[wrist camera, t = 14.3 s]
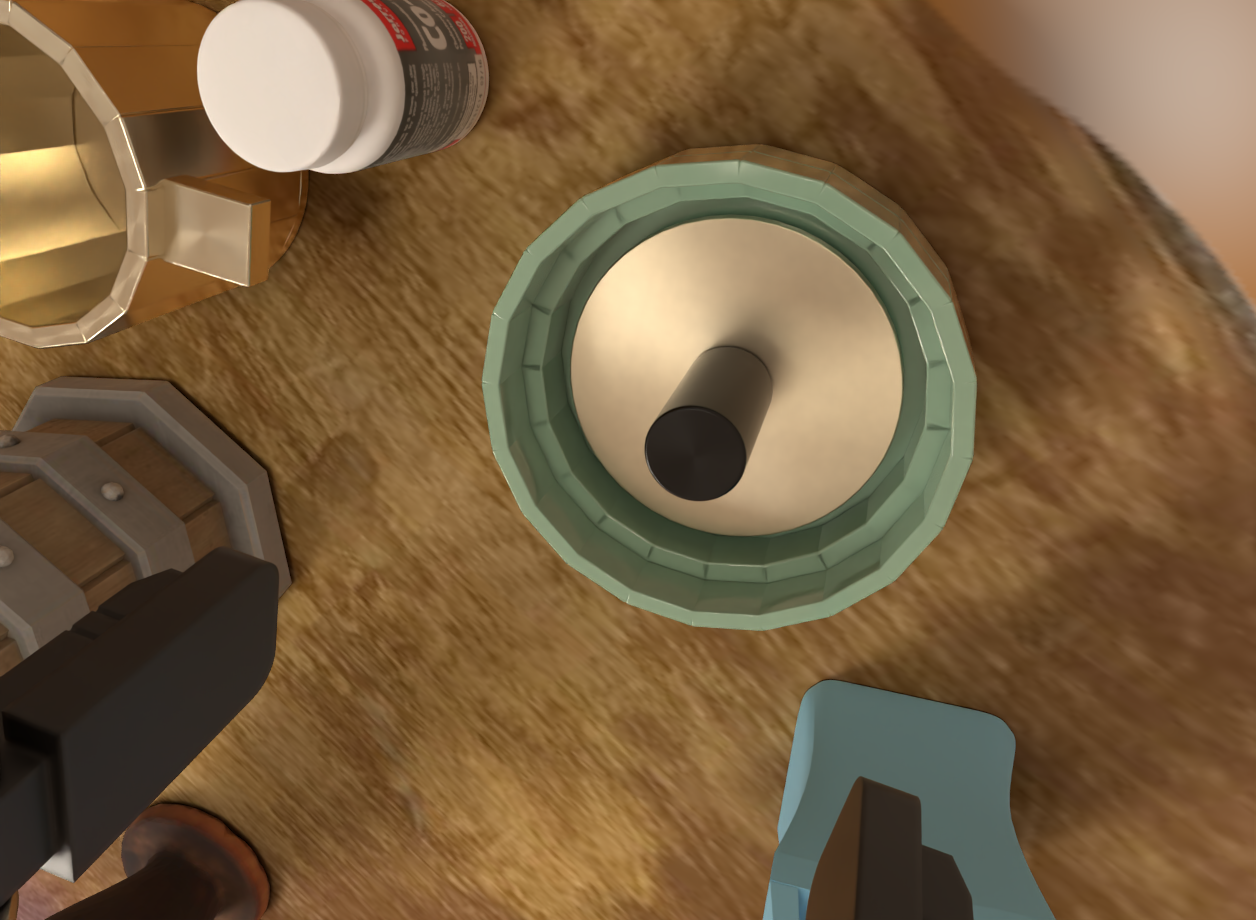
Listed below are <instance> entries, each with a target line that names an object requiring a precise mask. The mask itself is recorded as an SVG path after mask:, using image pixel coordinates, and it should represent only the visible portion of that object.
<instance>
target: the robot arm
mask: <svg viewBox="0 0 1256 920" xmlns="http://www.w3.org/2000/svg"><path fill="white" fill-rule="evenodd" d="M278 595H279V571H278V568H277V566H276V565H275V564H273V563H271V562H268V561H265V560H262V559H259V558H257V557H254V556H251V555H248V554H245V553H243V552H240V551H237V550H234V549H232V548H229V547H225V546H221V547H217V548H215V549H214V550H212V551H210V552H209V553H208V554H207V555H205V556H204V557H203V558H201V559H200V560H199V561H197V562H196V563H195V564H193V565H192V566H191V567H189V568H188V569H187V570H185V571H184V572H181V571H178V570H175V569H172V568H170V569H168V570H165V571H162V572H160V573H157V574H154V575H151V576H149V577H146V578H143V579H140V580H138V581H135V582H132V583H130V584H128V585H127V586H126V587H124V588H123V589H122V590H120V591H119V592H117V593H116V594H115V595H113V596H112V597H110V598H109V599H108V600H106V601H105V602H104V603H102V604H101V605H99V607H98V610H97V611H96V612H95V611H91V612H90V613H88V614H87V615H85V616H84V617H83V618H81V619H80V620H79V621H77V622H76V623H74V624H73V625H72V628H71V630H70V631H68V630H65V631H63V632H62V633H61V634H59V635H58V636H56V637H55V638H54V639H52V640H51V641H49V642H48V643H47V644H45V645H44V646H43V647H41V648H40V649H38V650H37V651H36V652H34V653H33V654H31V655H30V656H29V657H27V658H26V659H25V660H23V661H22V662H20V663H19V664H18V665H16V666H15V667H13V668H12V669H11V670H9V671H8V672H7V673H5V674H4V675H2V676H1V677H0V920H16V918H17V911H18V904H19V895H18V889H20V888H21V887H22V886H23V885H24V884H25V883H26V882H27V881H28V880H29V879H30V878H31V877H32V876H33V875H34V874H35V873H36V872H37V871H38V870H39V869H42V870H44V871H47V872H49V873H51V874H54V875H56V876H58V877H61V878H63V879H65V880H68V881H70V882H73V883H74V882H75V881H76V880H77V879H78V878H79V877H80V876H81V875H82V874H83V873H84V872H85V871H86V870H87V869H88V868H89V867H90V866H91V865H92V864H93V863H94V862H95V861H96V860H97V858H98V857H99V856H100V855H101V854H102V853H103V852H104V851H105V850H106V849H107V848H108V847H109V846H110V845H111V844H112V843H113V842H114V841H115V840H116V839H117V838H118V837H119V836H120V835H121V834H122V833H123V832H124V831H125V830H126V829H127V828H128V827H129V825H130V824H131V823H132V822H133V821H134V820H135V819H136V818H137V817H138V816H139V815H140V814H141V813H142V812H143V811H144V810H145V809H146V808H147V807H148V806H149V805H150V804H151V803H152V802H153V801H154V800H155V799H156V798H157V797H158V796H159V795H160V794H161V792H162V791H163V790H164V789H165V788H166V787H167V786H168V785H169V784H170V783H171V782H172V781H173V780H174V779H175V778H176V777H177V776H178V775H179V774H180V773H181V772H182V771H183V770H184V769H185V768H186V767H187V766H188V765H189V764H190V763H191V762H192V761H193V759H194V758H195V757H196V756H197V755H198V754H199V753H200V752H201V751H202V750H203V749H204V748H205V747H206V746H207V745H208V744H209V743H210V742H211V741H212V740H213V739H214V738H215V737H216V736H217V735H218V734H219V733H220V732H221V731H222V730H223V729H224V728H225V727H226V725H227V724H228V723H229V722H230V721H231V720H232V719H233V718H234V717H235V716H236V715H237V714H238V713H239V712H240V711H241V710H242V709H243V708H244V707H245V706H246V705H247V704H248V703H249V702H250V701H251V700H252V699H253V698H254V696H255V695H256V694H257V693H258V692H259V690H260V689H261V687H262V686H263V684H264V682H265V681H266V679H267V677H268V675H269V672H270V670H271V667H272V665H273V661H274V657H275V651H276V633H277V614H278ZM805 920H974V918H973V904H972V896H971V894H970V892H969V890H968V888H967V886H966V884H965V881H964V879H963V877H962V875H961V873H960V871H959V869H958V867H957V865H956V862H955V860H954V858H953V856H952V855H949V854H947V853H944V852H941V851H938V850H936V849H933V848H930V847H927V846H925V845H922V825H921V802H920V799H919V797H918V796H915V795H912V794H909V793H907V792H904V791H901V790H898V789H896V788H893V787H890V786H887V785H884V784H882V783H879V782H876V781H873V780H870V779H868V778H865V777H862V776H859V777H858V778H857V779H856V781H855V782H854V784H853V786H852V788H851V791H850V793H849V795H848V797H847V799H846V802H845V804H844V806H843V808H842V811H841V813H840V815H839V817H838V819H837V822H836V824H835V826H834V828H833V830H832V833H831V835H830V837H829V839H828V842H827V844H826V846H825V848H824V850H823V853H822V855H821V857H820V860H819V862H818V865H817V868H816V871H815V874H814V878H813V881H812V885H811V889H810V894H809V898H808V904H807V911H806V919H805Z"/></svg>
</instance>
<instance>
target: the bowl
mask: <svg viewBox="0 0 1256 920" xmlns="http://www.w3.org/2000/svg"><path fill="white" fill-rule="evenodd" d="M717 215H745V216H756V217H761V218H766V219H771V220H776V221H780V222H782V223H785V224H788V225H791V226H794V227H797V228H800V229H802V230H804V231H806V232H808V233H810V234H812V235H814V236H816V237H817V238H819V239H821V240H823V241H824V242H826V243H827V244H829V245H830V246H832V247H833V248H834V249H836V250H837V251H839V252H840V253H841V254H843V255H844V256H845V257H846V258H847V259H848V260H849V261H850V262H851V263H852V264H854V265H855V266H856V267H857V268H858V269H859V270H860V272H861V273H862V274H863V275H864V276H865V277H866V279H867V280H868V281H869V282H870V283H871V285H872V286H873V287H874V289H875V290H876V292H877V294H878V295H879V297H880V298H881V300H882V302H883V303H884V305H885V307H886V309H887V311H888V313H889V315H890V318H891V320H892V322H893V324H894V327H895V330H896V334H897V337H898V340H899V344H900V347H901V354H902V361H903V368H904V396H903V403H902V410H901V416H900V420H899V423H898V427H897V430H896V433H895V437H894V439H893V441H892V443H891V446H890V448H889V450H888V452H887V454H886V456H885V458H884V460H883V461H882V463H881V464H880V466H879V467H878V469H877V470H876V472H875V473H874V475H873V476H872V477H871V478H870V479H869V481H868V482H867V483H866V484H865V485H864V486H863V487H862V489H861V490H860V491H859V492H857V493H856V494H855V495H854V496H853V497H852V498H851V499H849V500H848V501H847V502H846V503H845V504H843V505H842V506H840V507H839V508H837V509H836V510H834V511H833V512H831V513H830V514H828V515H826V516H824V517H822V518H820V519H818V520H816V521H814V522H812V523H810V524H808V525H805V526H802V527H799V528H796V529H793V530H790V531H786V532H781V533H776V534H771V535H762V536H751V537H746V536H726V535H719V534H712V533H707V532H703V531H700V530H696V529H692V528H689V527H686V526H684V525H681V524H678V523H676V522H673V521H671V520H669V519H667V518H665V517H663V516H661V515H659V514H658V513H656V512H654V511H652V510H651V509H649V508H648V507H646V506H645V505H643V504H642V503H640V502H639V501H637V500H636V499H635V498H634V497H632V496H631V495H630V494H629V493H628V492H627V491H626V490H624V489H623V488H622V487H621V486H620V485H619V484H618V483H617V482H616V481H615V480H614V478H613V477H612V476H611V475H610V474H609V473H608V472H607V471H606V469H605V468H604V466H603V465H602V464H601V462H600V461H599V460H598V458H597V457H596V455H595V454H594V452H593V450H592V448H591V446H590V445H589V443H588V441H587V439H586V437H585V435H584V432H583V430H582V427H581V425H580V422H579V420H578V417H577V413H576V409H575V405H574V402H573V396H572V389H571V382H570V357H571V349H572V342H573V337H574V333H575V330H576V326H577V322H578V319H579V317H580V314H581V312H582V310H583V307H584V305H585V302H586V300H587V299H588V297H589V295H590V294H591V292H592V290H593V289H594V287H595V285H596V284H597V282H598V281H599V280H600V279H601V278H602V276H603V275H604V274H605V273H606V271H607V270H608V269H609V268H610V267H611V266H612V265H613V264H614V263H615V262H616V261H617V260H618V259H619V258H620V257H621V256H622V255H623V254H624V253H626V252H627V251H628V250H630V249H631V248H632V247H634V246H635V245H637V244H638V243H640V242H641V241H642V240H644V239H645V238H647V237H649V236H651V235H653V234H655V233H657V232H659V231H660V230H662V229H664V228H667V227H670V226H672V225H675V224H678V223H681V222H684V221H687V220H692V219H697V218H702V217H706V216H717ZM482 390H483V396H484V402H485V408H486V414H487V421H488V427H489V433H490V439H491V446H492V450H493V454H494V456H495V458H496V460H497V462H498V464H499V466H500V468H501V470H502V472H503V475H504V477H505V479H506V481H507V483H508V485H509V487H510V489H511V491H512V493H513V495H514V497H515V499H516V502H517V504H518V506H519V508H520V510H521V512H523V515H524V516H525V517H526V518H527V519H528V520H529V521H530V523H531V524H532V525H533V526H534V527H535V528H536V529H537V531H538V532H539V533H540V534H541V535H542V536H543V537H544V539H545V540H546V541H547V542H548V543H549V544H550V545H551V546H552V548H553V549H554V550H555V551H556V552H557V553H558V554H559V556H560V557H561V558H562V559H563V560H564V561H565V562H566V564H569V566H571V567H572V568H574V569H575V570H577V571H578V572H580V573H581V574H583V575H584V576H586V577H587V578H589V579H590V580H592V581H593V582H595V583H596V584H598V585H599V586H601V587H602V588H604V589H605V590H607V591H608V592H610V593H611V594H613V595H614V596H616V597H617V598H619V599H620V600H622V601H623V602H626V603H627V604H629V605H632V606H635V607H638V608H641V609H644V610H647V611H650V612H653V613H655V614H658V615H661V616H664V617H667V618H670V619H673V620H676V621H679V622H682V623H685V624H687V625H692V626H697V627H711V628H726V629H740V630H755V631H764V630H769V629H774V628H779V627H783V626H788V625H793V624H798V623H803V622H807V621H812V620H817V619H822V618H826V617H830V616H831V615H832V616H833V615H835V614H836V613H838V612H840V611H842V610H844V609H845V608H847V607H849V606H851V605H853V604H855V603H856V602H858V601H860V600H862V599H864V598H865V597H867V596H869V595H871V594H873V593H875V592H876V591H878V590H880V589H882V588H884V587H885V586H887V585H889V584H891V583H893V581H895V580H896V579H897V578H898V577H899V576H900V575H901V574H902V573H903V572H904V571H905V570H906V569H907V567H908V566H909V565H910V564H911V563H912V562H913V561H914V560H915V559H916V558H917V557H918V556H919V554H920V553H921V552H922V551H923V550H924V549H925V548H926V547H927V546H928V545H929V544H930V543H931V542H932V540H933V539H934V538H935V537H936V536H937V535H938V534H939V533H940V532H941V531H942V530H943V527H944V526H945V524H946V522H947V519H948V517H949V515H950V512H951V510H952V508H953V505H954V503H955V501H956V498H957V496H958V494H959V491H960V489H961V487H962V484H963V482H964V480H965V477H966V475H967V473H968V470H969V468H970V466H971V463H972V461H973V460H972V458H973V456H974V439H975V419H976V399H977V376H976V370H975V365H974V360H973V354H972V349H971V344H970V338H969V334H968V331H967V328H966V325H965V321H964V318H963V315H962V312H961V309H960V305H959V302H958V299H957V296H956V293H955V289H954V286H953V283H952V280H951V277H950V273H949V270H948V269H947V267H946V265H945V264H944V262H943V261H942V260H941V258H940V257H939V256H938V254H937V253H936V252H935V250H934V249H933V248H932V246H931V245H930V244H929V242H928V241H927V240H926V239H925V237H924V236H923V235H922V233H921V232H920V231H919V229H918V228H917V227H916V225H915V224H914V223H913V221H912V220H911V219H910V217H909V216H908V215H907V213H906V212H905V211H904V209H902V208H900V206H899V205H898V204H896V203H895V202H893V201H892V200H890V199H889V198H887V197H886V196H884V195H883V194H881V193H880V192H878V191H877V190H875V189H874V188H872V187H871V186H870V185H868V184H867V183H865V182H864V181H862V180H861V179H859V178H858V177H856V176H855V175H853V174H852V173H850V172H849V171H847V170H846V169H844V168H843V167H841V166H840V165H836V164H835V163H833V162H829V161H825V160H822V159H818V158H814V157H810V156H806V155H803V154H799V153H795V152H791V151H787V150H784V149H780V148H776V147H772V146H768V145H765V144H763V145H761V144H749V145H736V146H722V147H708V148H695V149H687V150H683V151H680V152H678V153H676V154H673V155H671V156H669V157H666V158H664V159H662V160H660V161H657V162H655V163H653V164H650V165H648V166H646V167H643V168H641V169H639V170H636V171H634V172H632V173H629V174H627V175H625V176H622V177H620V178H618V179H616V180H614V181H612V182H610V183H608V184H606V185H604V186H602V187H600V188H598V189H596V190H594V191H592V192H590V193H588V194H586V195H584V196H583V197H581V198H579V199H578V200H577V201H576V202H575V203H574V204H573V205H572V206H571V207H570V208H569V209H568V210H566V211H565V212H564V213H563V214H562V215H561V216H560V217H559V218H558V219H557V220H556V221H555V222H553V223H552V224H551V225H550V226H549V227H548V228H547V229H546V230H545V231H544V232H543V233H542V234H541V235H539V236H538V237H537V238H536V239H535V240H534V241H533V242H532V243H531V244H530V245H529V246H528V247H527V249H526V250H524V252H523V254H522V256H521V258H520V260H519V262H518V264H517V266H516V268H515V270H514V271H513V273H512V275H511V277H510V279H509V281H508V283H507V285H506V287H505V289H504V291H503V292H502V294H501V296H500V298H499V300H498V302H497V304H496V306H495V308H494V310H493V314H492V316H491V322H490V329H489V335H488V342H487V348H486V355H485V362H484V368H483V375H482Z"/></svg>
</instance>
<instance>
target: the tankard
mask: <svg viewBox="0 0 1256 920" xmlns="http://www.w3.org/2000/svg"><path fill="white" fill-rule="evenodd" d="M221 546H225V547H229V548H232V549H234V550H237V551H240V552H243V553H245V554H248V555H251V556H254V557H257V558H259V559H262V560H265V561H268V562H271V563H273V564H275V565H276V566H277V568H278V571H279V595H278V599H279V598H280V597H281V595H282V594H283V593H284V592H285V591H286V590H287V589H288V587H289V586H290V585H291V584H292V582H291V578H290V573H289V569H288V565H287V560H286V556H285V551H284V547H283V542H282V538H281V533H280V529H279V524H278V520H277V516H276V511H275V507H274V502H273V498H272V493H271V489H270V484H269V480H268V475H267V471H266V470H265V469H264V468H262V467H261V466H260V465H259V464H258V463H257V462H256V461H255V460H254V459H253V458H251V457H250V456H249V455H248V454H247V453H246V452H245V451H244V450H243V449H242V448H240V447H239V446H238V445H237V444H236V443H235V442H234V441H233V440H232V439H231V438H229V437H228V436H227V435H226V434H225V433H224V432H223V431H222V430H221V429H220V428H218V427H217V426H216V425H215V424H214V423H213V422H212V421H211V420H210V419H209V418H208V417H206V416H205V415H204V414H203V413H202V412H201V411H200V410H199V409H198V408H197V407H195V406H194V405H193V404H192V403H191V402H190V401H189V400H188V399H187V398H186V397H184V396H183V395H182V394H181V393H180V392H179V391H178V390H177V389H176V388H175V387H173V386H172V385H171V384H170V383H169V382H168V381H158V380H134V379H110V378H86V377H62V376H61V377H59V378H56V379H54V380H51V381H49V382H46V383H44V384H41V385H39V386H36V387H35V389H34V391H33V393H32V395H31V396H30V398H29V400H28V402H27V404H26V406H25V407H24V409H23V411H22V413H21V415H20V416H19V418H18V420H17V422H16V424H15V426H14V427H13V429H12V431H6V430H0V677H1V676H2V675H4V674H5V673H7V672H8V671H9V670H11V669H12V668H13V667H15V666H16V665H18V664H19V663H20V662H22V661H23V660H25V659H26V658H27V657H29V656H30V655H31V654H33V653H34V652H36V651H37V650H38V649H40V648H41V647H43V646H44V645H45V644H47V643H48V642H49V641H51V640H52V639H54V638H55V637H56V636H58V635H59V634H61V633H62V632H63V631H65V630H68V631H70V630H71V628H72V625H73V624H74V623H76V622H77V621H79V620H80V619H81V618H83V617H84V616H85V615H87V614H88V613H90V612H91V611H95V612H96V611H97V610H98V607H99V605H101V604H102V603H104V602H105V601H106V600H108V599H109V598H110V597H112V596H113V595H115V594H116V593H117V592H119V591H120V590H122V589H123V588H124V587H126V586H127V585H128V584H130V583H132V582H135V581H138V580H140V579H143V578H146V577H149V576H151V575H154V574H157V573H160V572H162V571H165V570H168V569H170V568H172V569H175V570H178V571H181V572H184V571H185V570H187V569H188V568H189V567H191V566H192V565H193V564H195V563H196V562H197V561H199V560H200V559H201V558H203V557H204V556H205V555H207V554H208V553H209V552H210V551H212V550H214V549H215V548H217V547H221Z"/></svg>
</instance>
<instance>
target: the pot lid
mask: <svg viewBox="0 0 1256 920" xmlns="http://www.w3.org/2000/svg"><path fill="white" fill-rule="evenodd" d="M570 382H571V389H572V396H573V402H574V405H575V409H576V413H577V417H578V420H579V422H580V425H581V427H582V430H583V432H584V435H585V437H586V439H587V441H588V443H589V445H590V446H591V448H592V450H593V452H594V454H595V455H596V457H597V458H598V460H599V461H600V462H601V464H602V465H603V466H604V468H605V469H606V471H607V472H608V473H609V474H610V475H611V476H612V477H613V478H614V480H615V481H616V482H617V483H618V484H619V485H620V486H621V487H622V488H623V489H624V490H626V491H627V492H628V493H629V494H630V495H631V496H632V497H634V498H635V499H636V500H637V501H639V502H640V503H642V504H643V505H645V506H646V507H648V508H649V509H651V510H652V511H654V512H656V513H658V514H659V515H661V516H663V517H665V518H667V519H669V520H671V521H673V522H676V523H678V524H681V525H684V526H686V527H689V528H692V529H696V530H700V531H703V532H707V533H712V534H719V535H726V536H746V537H751V536H762V535H771V534H776V533H781V532H786V531H790V530H793V529H796V528H799V527H802V526H805V525H808V524H810V523H812V522H814V521H816V520H818V519H820V518H822V517H824V516H826V515H828V514H830V513H831V512H833V511H834V510H836V509H837V508H839V507H840V506H842V505H843V504H845V503H846V502H847V501H848V500H849V499H851V498H852V497H853V496H854V495H855V494H856V493H857V492H859V491H860V490H861V489H862V487H863V486H864V485H865V484H866V483H867V482H868V481H869V479H870V478H871V477H872V476H873V475H874V473H875V472H876V470H877V469H878V467H879V466H880V464H881V463H882V461H883V460H884V458H885V456H886V454H887V452H888V450H889V448H890V446H891V443H892V441H893V439H894V437H895V433H896V430H897V427H898V423H899V420H900V416H901V410H902V403H903V396H904V368H903V361H902V354H901V347H900V344H899V340H898V337H897V334H896V330H895V327H894V324H893V322H892V320H891V318H890V315H889V313H888V311H887V309H886V307H885V305H884V303H883V302H882V300H881V298H880V297H879V295H878V294H877V292H876V290H875V289H874V287H873V286H872V285H871V283H870V282H869V281H868V280H867V279H866V277H865V276H864V275H863V274H862V273H861V272H860V270H859V269H858V268H857V267H856V266H855V265H854V264H852V263H851V262H850V261H849V260H848V259H847V258H846V257H845V256H844V255H843V254H841V253H840V252H839V251H837V250H836V249H834V248H833V247H832V246H830V245H829V244H827V243H826V242H824V241H823V240H821V239H819V238H817V237H816V236H814V235H812V234H810V233H808V232H806V231H804V230H802V229H800V228H797V227H794V226H791V225H788V224H785V223H782V222H780V221H776V220H771V219H766V218H761V217H756V216H745V215H717V216H706V217H702V218H697V219H692V220H687V221H684V222H681V223H678V224H675V225H672V226H670V227H667V228H664V229H662V230H660V231H659V232H657V233H655V234H653V235H651V236H649V237H647V238H645V239H644V240H642V241H641V242H640V243H638V244H637V245H635V246H634V247H632V248H631V249H630V250H628V251H627V252H626V253H624V254H623V255H622V256H621V257H620V258H619V259H618V260H617V261H616V262H615V263H614V264H613V265H612V266H611V267H610V268H609V269H608V270H607V271H606V273H605V274H604V275H603V276H602V278H601V279H600V280H599V281H598V282H597V284H596V285H595V287H594V289H593V290H592V292H591V294H590V295H589V297H588V299H587V300H586V302H585V305H584V307H583V310H582V312H581V314H580V317H579V319H578V322H577V326H576V330H575V333H574V337H573V342H572V349H571V357H570Z"/></svg>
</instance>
